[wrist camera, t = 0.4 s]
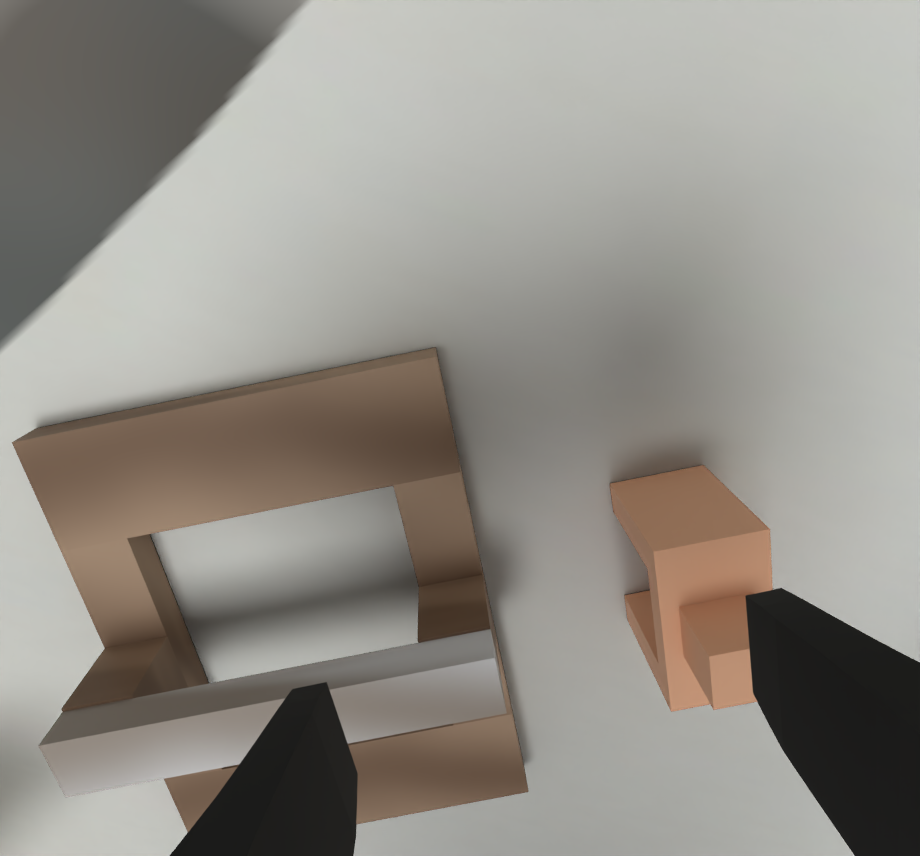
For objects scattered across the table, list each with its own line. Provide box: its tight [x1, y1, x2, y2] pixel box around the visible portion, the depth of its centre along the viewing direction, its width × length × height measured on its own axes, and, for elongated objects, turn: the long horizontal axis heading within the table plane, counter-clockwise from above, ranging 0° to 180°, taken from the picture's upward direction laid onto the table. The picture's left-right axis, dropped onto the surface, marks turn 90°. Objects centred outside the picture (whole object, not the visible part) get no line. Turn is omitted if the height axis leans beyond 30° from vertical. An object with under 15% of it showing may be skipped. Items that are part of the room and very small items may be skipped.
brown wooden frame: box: [12, 347, 528, 832], centre depth 20 cm, size 16×12×5 cm
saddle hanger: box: [610, 465, 773, 712], centre depth 19 cm, size 5×3×6 cm, turn 11°
